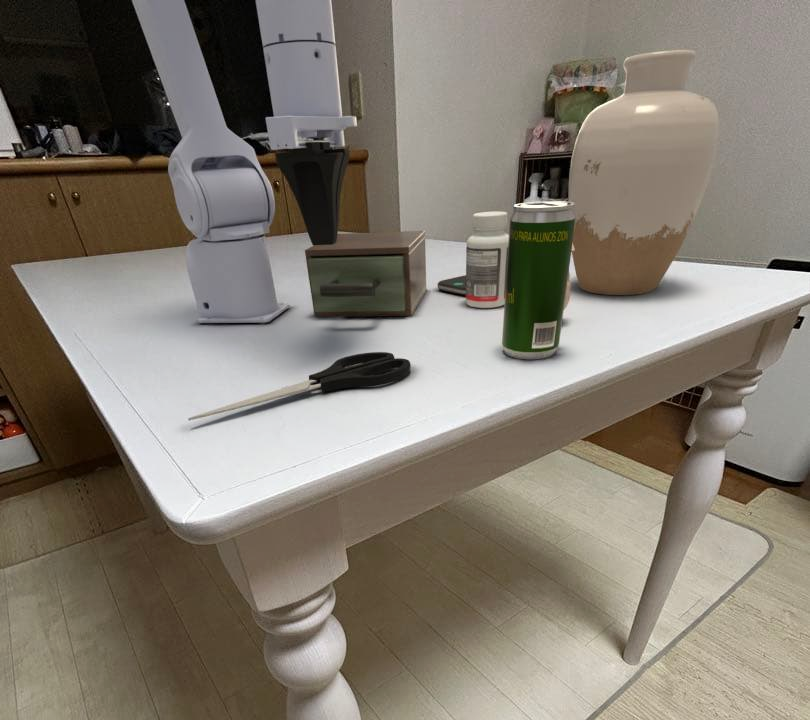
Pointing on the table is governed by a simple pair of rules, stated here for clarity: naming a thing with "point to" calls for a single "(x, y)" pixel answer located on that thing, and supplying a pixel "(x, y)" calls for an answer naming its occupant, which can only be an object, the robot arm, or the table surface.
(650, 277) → the vase
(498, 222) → the pill bottle
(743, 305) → the table surface
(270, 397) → the scissors
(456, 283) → the smartphone
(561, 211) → the beer can
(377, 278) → the drawer
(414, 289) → the cabinet
